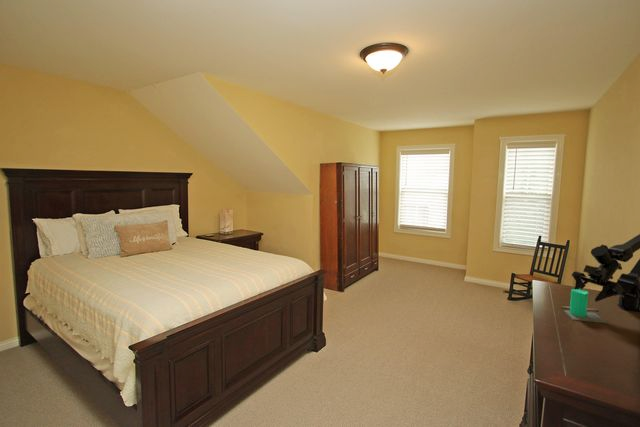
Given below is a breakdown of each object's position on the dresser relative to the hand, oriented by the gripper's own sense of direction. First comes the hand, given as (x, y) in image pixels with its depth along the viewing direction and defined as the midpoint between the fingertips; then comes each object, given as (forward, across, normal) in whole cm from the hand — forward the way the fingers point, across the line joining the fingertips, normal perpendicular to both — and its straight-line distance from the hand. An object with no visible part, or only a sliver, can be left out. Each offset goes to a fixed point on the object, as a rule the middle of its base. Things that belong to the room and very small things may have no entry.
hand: (584, 297), depth 146 cm
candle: (+7, -1, +4) cm, 8 cm away
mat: (+7, +1, +5) cm, 9 cm away
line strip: (+2, -6, +10) cm, 11 cm away
